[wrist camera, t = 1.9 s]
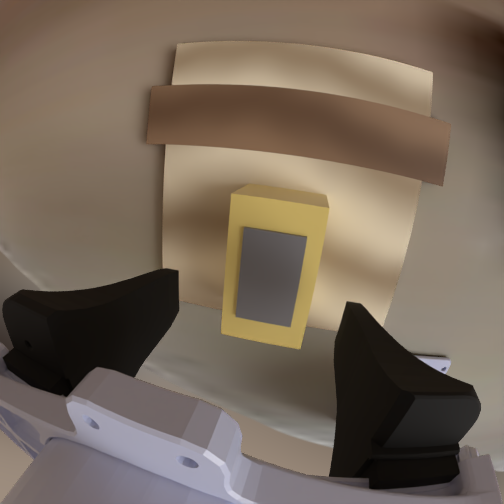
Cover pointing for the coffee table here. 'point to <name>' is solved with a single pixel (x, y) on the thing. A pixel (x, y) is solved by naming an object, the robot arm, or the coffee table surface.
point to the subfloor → (296, 160)
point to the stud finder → (272, 263)
